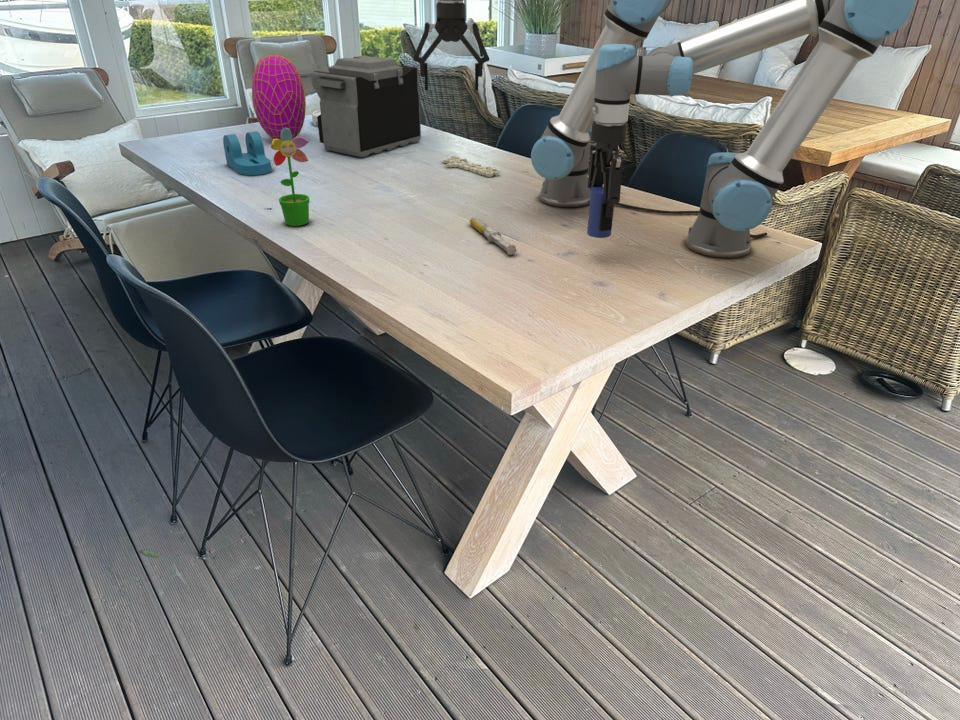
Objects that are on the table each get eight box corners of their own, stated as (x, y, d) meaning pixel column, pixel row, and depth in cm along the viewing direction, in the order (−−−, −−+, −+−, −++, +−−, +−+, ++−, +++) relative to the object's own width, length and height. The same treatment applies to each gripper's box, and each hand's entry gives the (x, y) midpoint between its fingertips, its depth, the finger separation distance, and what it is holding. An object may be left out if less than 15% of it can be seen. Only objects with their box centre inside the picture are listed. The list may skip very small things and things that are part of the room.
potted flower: (284, 229, 179) (270, 130, 166) (277, 220, 185) (263, 124, 172) (319, 224, 183) (308, 127, 170) (311, 215, 188) (300, 121, 176)
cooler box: (383, 133, 276) (378, 52, 261) (425, 141, 265) (422, 56, 250) (314, 150, 251) (304, 61, 235) (358, 160, 240) (350, 67, 224)
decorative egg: (293, 132, 276) (283, 50, 261) (319, 140, 264) (310, 56, 249) (249, 139, 265) (236, 54, 250) (273, 148, 253) (261, 60, 238)
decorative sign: (432, 159, 238) (454, 155, 243) (432, 162, 238) (454, 157, 244) (482, 176, 221) (505, 170, 226) (482, 179, 221) (505, 173, 227)
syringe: (466, 223, 184) (466, 213, 183) (479, 221, 185) (479, 212, 184) (502, 257, 164) (503, 246, 163) (517, 255, 165) (517, 244, 164)
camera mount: (227, 164, 233) (221, 132, 227) (257, 160, 238) (252, 129, 233) (244, 176, 220) (239, 143, 215) (276, 172, 225) (271, 139, 220)
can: (606, 229, 164) (610, 185, 159) (614, 237, 160) (619, 192, 154) (583, 230, 163) (587, 187, 158) (591, 238, 159) (595, 194, 153)
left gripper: (401, 2, 172) (405, 91, 183) (500, 3, 173) (498, 92, 184) (402, 0, 178) (406, 87, 189) (498, 1, 180) (496, 87, 191)
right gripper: (578, 115, 156) (570, 214, 167) (610, 132, 140) (600, 240, 152) (608, 113, 157) (599, 211, 169) (644, 130, 142) (631, 237, 153)
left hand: (451, 89), depth 187 cm, fingers open, 13 cm apart
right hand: (599, 225), depth 160 cm, fingers closed on can, 6 cm apart
